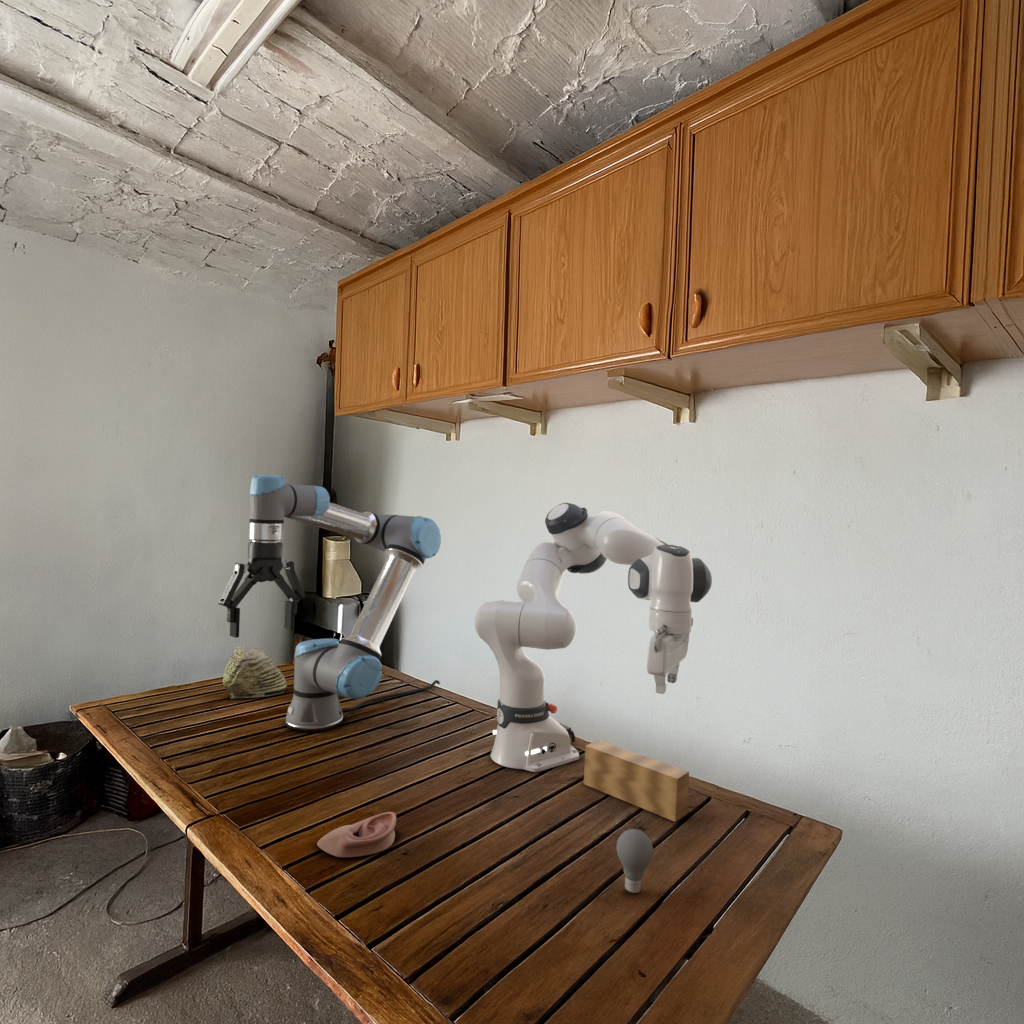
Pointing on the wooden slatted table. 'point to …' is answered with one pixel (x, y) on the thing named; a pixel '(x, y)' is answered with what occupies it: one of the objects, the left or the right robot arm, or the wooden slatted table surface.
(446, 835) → the wooden slatted table surface
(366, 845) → the anatomical model
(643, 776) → the bar
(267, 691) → the fossil
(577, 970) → the wooden slatted table surface
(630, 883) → the light bulb
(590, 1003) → the wooden slatted table surface
